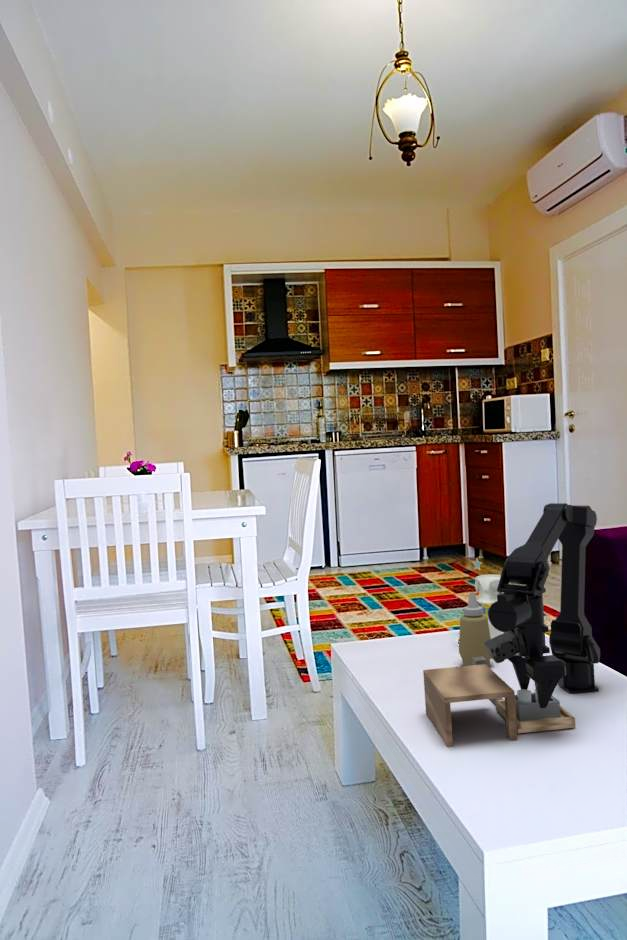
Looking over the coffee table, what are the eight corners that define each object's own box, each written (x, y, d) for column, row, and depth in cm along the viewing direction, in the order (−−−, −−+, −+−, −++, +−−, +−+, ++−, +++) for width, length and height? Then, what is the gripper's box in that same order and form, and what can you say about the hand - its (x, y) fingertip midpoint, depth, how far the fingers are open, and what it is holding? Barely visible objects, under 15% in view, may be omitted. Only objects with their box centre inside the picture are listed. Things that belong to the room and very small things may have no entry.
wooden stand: (488, 707, 141) (485, 664, 141) (517, 739, 125) (514, 691, 125) (425, 713, 140) (423, 670, 140) (447, 747, 124) (444, 697, 124)
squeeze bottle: (487, 673, 162) (483, 597, 161) (454, 669, 166) (450, 595, 165) (498, 662, 169) (493, 590, 168) (466, 659, 173) (461, 588, 172)
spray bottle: (505, 657, 172) (500, 558, 171) (473, 654, 177) (467, 557, 176) (515, 648, 179) (510, 553, 178) (483, 645, 184) (478, 552, 183)
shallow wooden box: (520, 679, 155) (518, 653, 155) (575, 727, 128) (573, 695, 128) (472, 684, 154) (470, 657, 154) (518, 733, 127) (516, 701, 127)
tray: (548, 706, 137) (546, 684, 136) (560, 717, 131) (559, 693, 131) (509, 710, 136) (507, 687, 136) (519, 721, 130) (518, 697, 130)
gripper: (472, 612, 142) (477, 686, 142) (505, 636, 123) (510, 721, 123) (525, 607, 142) (529, 681, 143) (565, 630, 124) (570, 715, 124)
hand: (533, 699), depth 133 cm, fingers open, 9 cm apart
